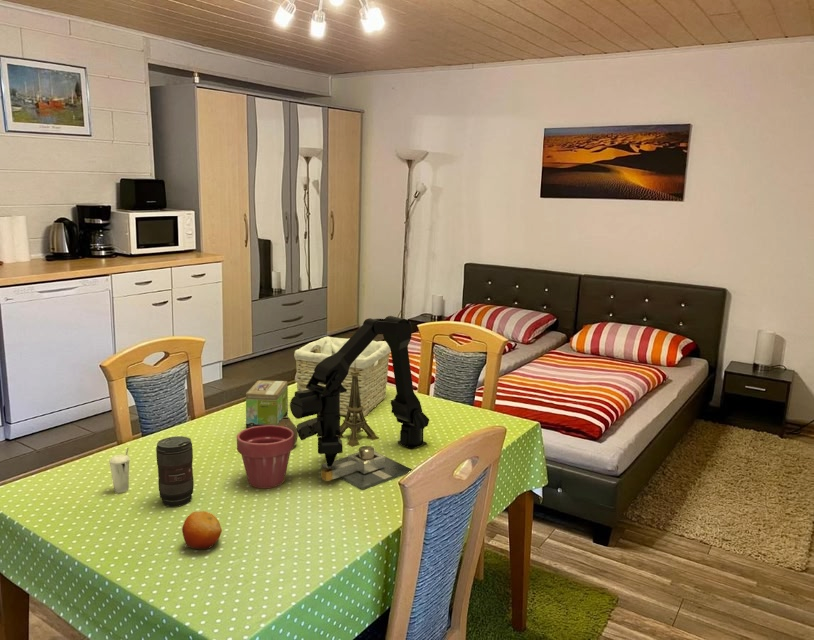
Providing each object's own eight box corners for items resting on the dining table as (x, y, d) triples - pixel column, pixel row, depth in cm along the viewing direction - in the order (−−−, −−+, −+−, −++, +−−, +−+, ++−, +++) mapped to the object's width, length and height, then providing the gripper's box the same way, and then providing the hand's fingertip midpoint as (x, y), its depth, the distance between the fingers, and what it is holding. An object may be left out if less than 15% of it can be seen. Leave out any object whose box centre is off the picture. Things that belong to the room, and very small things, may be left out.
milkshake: (137, 486, 163) (135, 449, 161) (122, 495, 158) (119, 457, 156) (123, 483, 164) (120, 446, 163) (107, 492, 160) (104, 454, 158)
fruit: (178, 529, 140) (197, 499, 139) (211, 545, 141) (230, 516, 140) (168, 549, 132) (187, 517, 131) (203, 566, 133) (222, 535, 133)
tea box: (278, 441, 195) (277, 393, 192) (245, 440, 195) (243, 393, 192) (288, 424, 210) (287, 379, 207) (257, 423, 210) (256, 379, 207)
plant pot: (286, 466, 177) (286, 421, 175) (301, 486, 165) (300, 439, 162) (233, 474, 171) (231, 428, 169) (244, 497, 158) (242, 447, 156)
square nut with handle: (368, 458, 180) (368, 448, 180) (385, 466, 175) (385, 456, 174) (316, 475, 169) (315, 465, 168) (332, 484, 164) (332, 474, 163)
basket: (392, 397, 239) (393, 340, 235) (366, 421, 214) (367, 356, 210) (325, 390, 247) (324, 334, 243) (292, 411, 222) (291, 349, 217)
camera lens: (201, 495, 159) (199, 437, 156) (181, 510, 151) (178, 449, 149) (173, 490, 161) (170, 433, 158) (151, 505, 154) (148, 445, 151)
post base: (370, 452, 188) (370, 432, 186) (412, 472, 174) (412, 451, 173) (321, 467, 176) (321, 446, 175) (361, 490, 163) (362, 467, 162)
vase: (292, 452, 187) (292, 423, 185) (270, 449, 188) (269, 421, 186) (301, 443, 193) (300, 415, 192) (279, 441, 195) (278, 413, 193)
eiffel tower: (330, 437, 199) (330, 358, 194) (357, 429, 206) (357, 352, 201) (352, 447, 191) (352, 364, 187) (379, 438, 199) (380, 359, 194)
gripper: (298, 400, 179) (299, 453, 182) (297, 423, 161) (298, 482, 163) (339, 399, 180) (339, 452, 183) (342, 421, 162) (342, 480, 165)
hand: (329, 466), depth 174 cm, fingers closed
